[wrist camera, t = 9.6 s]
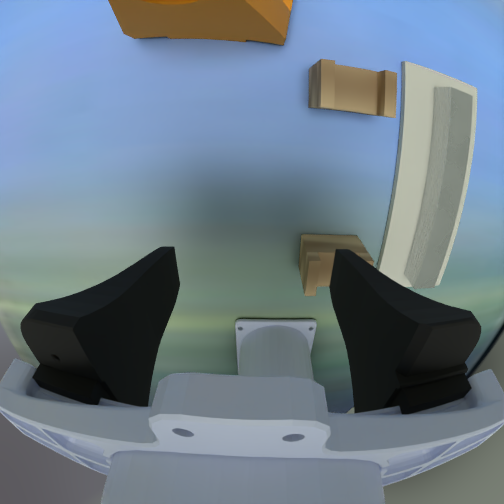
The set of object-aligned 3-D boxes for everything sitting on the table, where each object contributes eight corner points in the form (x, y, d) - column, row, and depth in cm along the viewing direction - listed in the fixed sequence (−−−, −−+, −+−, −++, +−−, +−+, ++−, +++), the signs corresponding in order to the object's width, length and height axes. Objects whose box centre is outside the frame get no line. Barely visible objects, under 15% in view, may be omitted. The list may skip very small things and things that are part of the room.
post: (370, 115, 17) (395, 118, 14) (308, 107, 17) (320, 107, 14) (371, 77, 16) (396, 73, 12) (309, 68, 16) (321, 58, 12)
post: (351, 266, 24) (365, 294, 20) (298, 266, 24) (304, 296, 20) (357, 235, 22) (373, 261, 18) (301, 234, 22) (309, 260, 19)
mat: (436, 281, 24) (438, 285, 24) (372, 284, 25) (374, 287, 24) (473, 88, 15) (477, 88, 14) (401, 61, 15) (405, 60, 14)
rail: (423, 273, 23) (434, 287, 21) (403, 273, 23) (413, 288, 21) (455, 94, 15) (472, 96, 13) (434, 86, 15) (451, 86, 13)
